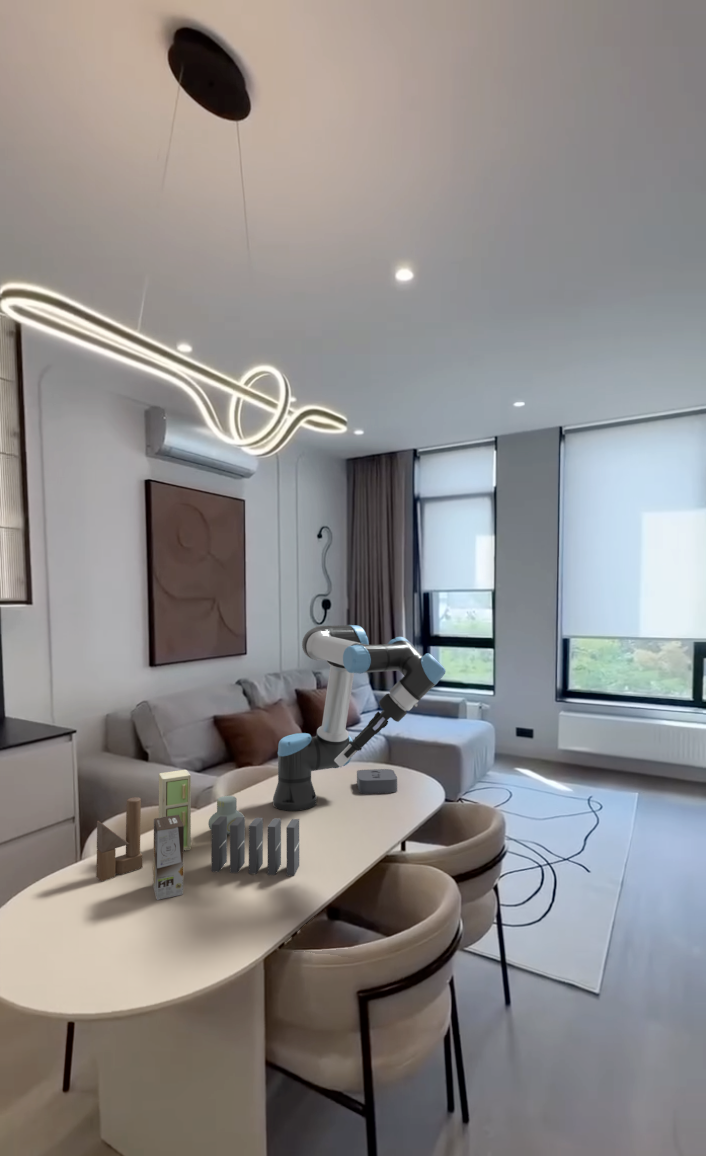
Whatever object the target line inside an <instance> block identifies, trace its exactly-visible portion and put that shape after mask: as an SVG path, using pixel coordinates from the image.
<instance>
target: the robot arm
mask: <svg viewBox="0 0 706 1156" xmlns="http://www.w3.org/2000/svg"><path fill="white" fill-rule="evenodd" d="M301 642H302V643H301V647H302V651H303V653H304V654H305V655H306V657H307V658H310V659H312V660H315V661H320V662H321V661H326V662H327V664H328V665H329V674H328V681H327V687H326V688H327V689H326V695H325V703H324V708H323V715H322V723H321V726H319V727H318V728H317V729H316V735H315V736H312V735H311V734H310V733H306V732H301V733H298V732H297V733H293V734H289V735H286V736H283V737H282V738H281V739H280V740H279V741H278V747H277V748H278V749H277V774H278V775H277V784H276V787H275V791H274V794H273V799H272V801H273V802H272V804H273V807H274V808H276V809H278V810H282V811H288V812H289V811H292V812H293V811H295V812H296V811H302V810H308V809H310V808H313V807H315V806H316V805H317V795H316V791H315V789H314V785H313V782H312V772H313V771H315V772H317V771H321V770H328V769H329V770H330V769H339V768H340V769H341V768H342V767H345V766H347V765H348V764H349V763H350V762H351V760H352V757H353V756H355V755H356V753H357V752H360V751H362V749H363V748H364V746H365V745H366V744H367V743H368V742H369V741H370V740H371V739H372V738H373V737H374V736H375V735H377V734H378V733H379V732H381V730H382V729H384V728H386V727H387V725H388V724H389V719H392V720H393V721H395V722H396V723H397V722H398V723H399V722H400V721H401V720H402V719H403V718H404V717H405V716H406V715H407V713H408V712H409V711H411V710H412V709H413V707H415V708H417V707H418V705H419V704H418V703H419V701H421V699H422V698H423V697H424V696H426V694H428V692H429V691H431V689H433V688H434V687H435V686H436V685H437V684H438V683H439V682H440V680H441V679H442V678H443V677H444V676H445V674H446V669H445V667H444V666H443V665H442V664H441V663H440V662H439V661H438V660H437V659H436V658H435V657H434V656H433V655H432V654H430V653H429V652H428V653H425V654H424V655H422V654H421V652H420V651H419V650H418V649H417V648H416V647H415V645H414V644H413V643H412V642H410V641H409V640H408V639H407V638H405V637H403V636H396V637H395V638H393V639H390V640H389V641H388V642H387V643H386V644H385V643H382V644H369V643H370V642H369V638H368V636H367V633H366V631H365V629H364V628H363V627H362V626H360V625H354V624H353V625H352V624H345V625H318V626H315V627H312V628H311V629H309V630H308V631H307V632H306V633H305V634H304V636H303V637H302V641H301ZM395 671H397V672H398V671H399V672H400V673H401V674H402V675H403V676H402V677H401V678H400V679H399V680H398V681H397V682H396V683H395V684H394V685H393V687H391V688H390V689H389V693H386V694H385V695H384V696H383V697H382V698H381V699H380V700H379V701H378V704H379V706H380V708H381V709H382V711H381V712H379V711H377V712H376V713H375V714H374V715H373V717H372V718H371V719H370V720H369V721H368V723H367V725H366V726H365V727H364V728H363V729H362V731H360V733H358V735H357V736H355V737H354V739H352V737H351V736H350V733H349V731H348V730H347V729H346V727H347V722H348V715H349V708H350V701H351V695H352V688H353V684H354V683H353V682H354V676H355V674H359V675H360V674H365V673H376V672H395ZM407 711H408V712H407Z"/></svg>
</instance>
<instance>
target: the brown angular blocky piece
mask: <svg viewBox="0 0 706 1156" xmlns="http://www.w3.org/2000/svg"><path fill="white" fill-rule="evenodd" d="M141 800H142V799H141V797H139V796H135V797H130V798H127V799H126V802H125V804H126V805H125V807H126V809H125V810H126V812H125V839H123V838H122V837H121V835H119V834H117V833H116V832H114V831H113V830H112V829H110V828H109V827H108V826H107V825H105V824H103V823H102V822H101V821H100V820H97V821H96V875H95V876H96V878H97V880H99V881H100V882H104V881H107V880H108V881H109V880H110V879H114V878H115V877H116V875H124V874H125V875H126V874H127V873H131V872H134V871H137V870H139V869H142V868H143V854H142V853H141V819H142V818H141V815H142V814H141V813H142V812H141V810H142V808H141V807H142V801H141ZM122 847H125V854H122V855H119V856H116V853H117V852H116V850H117V849H118V848H122Z"/></svg>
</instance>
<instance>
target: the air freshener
mask: <svg viewBox="0 0 706 1156" xmlns="http://www.w3.org/2000/svg"><path fill="white" fill-rule="evenodd" d="M237 807H238V806H237V797H235V796H234V795H224V796H220V797H218V798H217V799H216V812H215V813H213V814H212V815H211V816H210V818H209V820H208V823H207V824H208V827H209V830H210V832H212V824H213V823H214V822H215V821H216V820H217V819H218V818H219V817H220V816H225V817H227V836H230V825H231V824H232V823H233V821H234V820H235V819H236V818H237V817H245V816H244V814H243V813H242V812H241V811H239V810H238V809H237Z"/></svg>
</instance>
